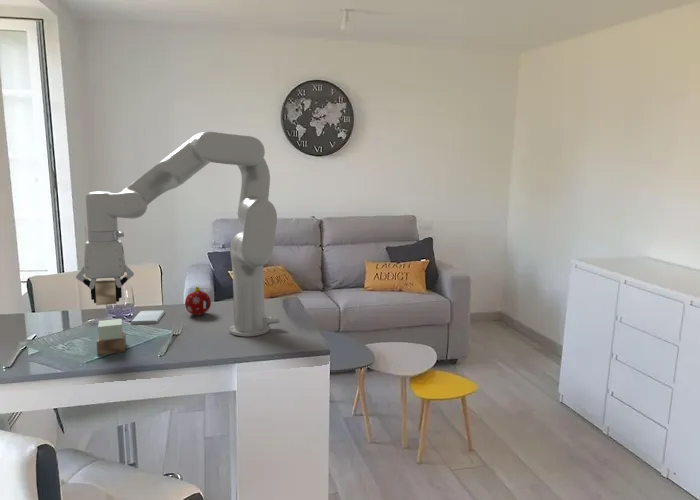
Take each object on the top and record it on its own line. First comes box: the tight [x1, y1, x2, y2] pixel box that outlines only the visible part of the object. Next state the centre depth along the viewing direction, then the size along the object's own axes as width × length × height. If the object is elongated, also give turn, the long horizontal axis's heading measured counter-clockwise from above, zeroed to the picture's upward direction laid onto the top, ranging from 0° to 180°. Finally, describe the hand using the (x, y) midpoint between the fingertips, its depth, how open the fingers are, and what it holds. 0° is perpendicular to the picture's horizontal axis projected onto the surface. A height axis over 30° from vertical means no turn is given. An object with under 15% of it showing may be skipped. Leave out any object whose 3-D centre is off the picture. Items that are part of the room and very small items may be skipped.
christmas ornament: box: [184, 286, 212, 316], centre depth 188 cm, size 9×9×10 cm
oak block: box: [95, 278, 118, 306], centre depth 152 cm, size 5×5×6 cm
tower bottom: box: [96, 331, 127, 356], centre depth 155 cm, size 7×7×4 cm
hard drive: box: [130, 309, 165, 325], centre depth 184 cm, size 2×8×12 cm
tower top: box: [97, 318, 124, 341], centre depth 154 cm, size 6×6×4 cm
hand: (106, 300), depth 152 cm, fingers closed on oak block, 5 cm apart
